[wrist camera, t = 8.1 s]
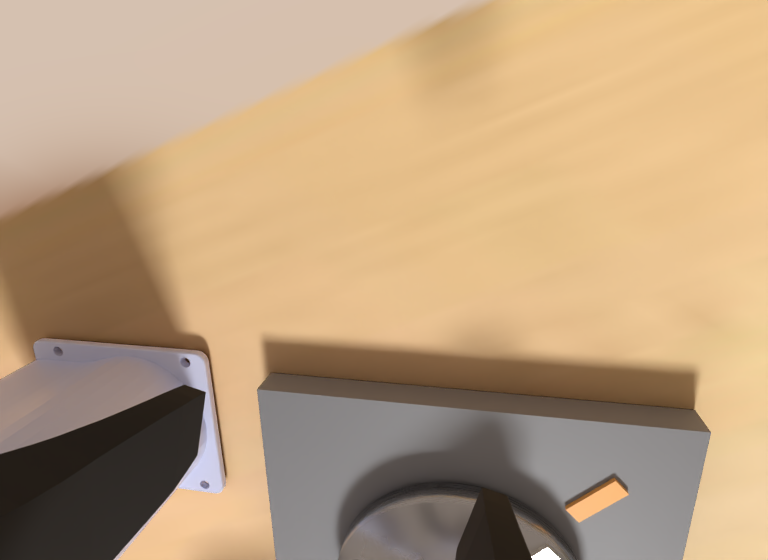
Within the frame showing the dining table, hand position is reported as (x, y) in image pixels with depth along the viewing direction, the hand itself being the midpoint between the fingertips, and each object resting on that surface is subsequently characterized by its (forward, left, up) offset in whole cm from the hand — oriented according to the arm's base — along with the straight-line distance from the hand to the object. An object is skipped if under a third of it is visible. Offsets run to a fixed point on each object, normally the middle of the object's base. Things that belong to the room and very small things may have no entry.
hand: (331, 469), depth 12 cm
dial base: (+3, -12, -9) cm, 16 cm away
